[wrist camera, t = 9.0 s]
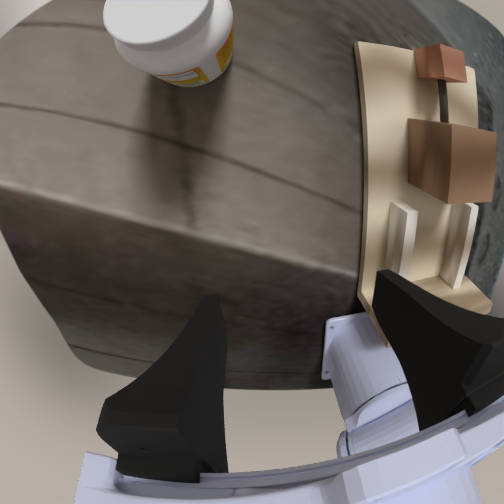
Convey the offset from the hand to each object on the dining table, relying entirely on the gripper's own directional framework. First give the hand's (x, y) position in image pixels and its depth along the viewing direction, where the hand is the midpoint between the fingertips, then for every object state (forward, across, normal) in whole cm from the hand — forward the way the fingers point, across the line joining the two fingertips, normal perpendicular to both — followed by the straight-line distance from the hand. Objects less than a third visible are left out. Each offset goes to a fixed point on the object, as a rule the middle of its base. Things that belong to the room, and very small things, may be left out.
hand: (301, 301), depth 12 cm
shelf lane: (+9, -13, -2) cm, 16 cm away
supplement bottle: (+10, +4, -13) cm, 17 cm away
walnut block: (+8, -13, -8) cm, 17 cm away
